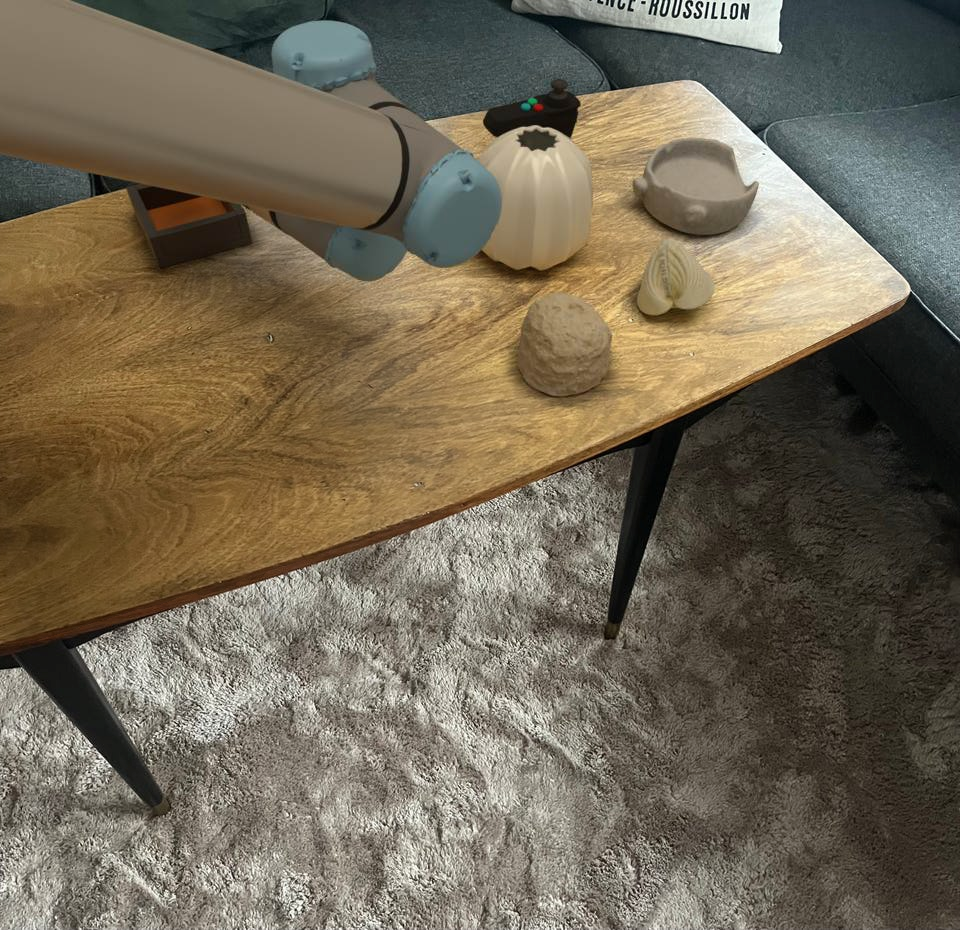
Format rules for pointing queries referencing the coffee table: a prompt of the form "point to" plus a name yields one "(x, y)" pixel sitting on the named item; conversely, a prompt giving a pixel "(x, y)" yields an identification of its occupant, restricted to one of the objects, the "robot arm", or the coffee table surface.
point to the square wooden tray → (187, 223)
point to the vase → (539, 197)
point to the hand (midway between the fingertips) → (130, 87)
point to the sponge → (563, 345)
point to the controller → (537, 112)
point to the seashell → (673, 280)
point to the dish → (695, 186)
